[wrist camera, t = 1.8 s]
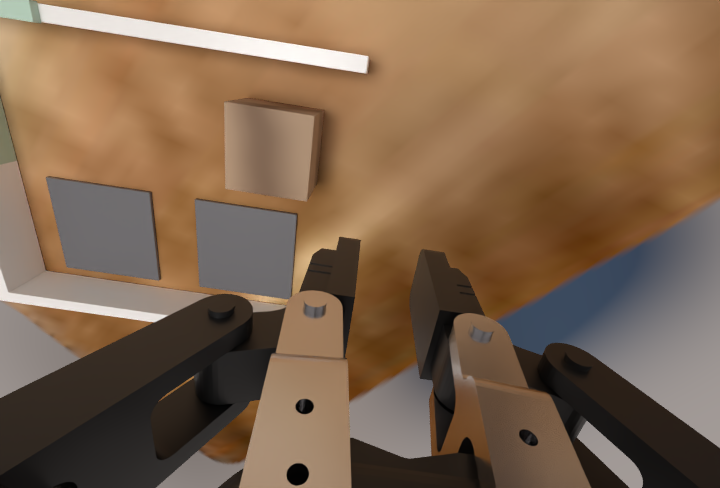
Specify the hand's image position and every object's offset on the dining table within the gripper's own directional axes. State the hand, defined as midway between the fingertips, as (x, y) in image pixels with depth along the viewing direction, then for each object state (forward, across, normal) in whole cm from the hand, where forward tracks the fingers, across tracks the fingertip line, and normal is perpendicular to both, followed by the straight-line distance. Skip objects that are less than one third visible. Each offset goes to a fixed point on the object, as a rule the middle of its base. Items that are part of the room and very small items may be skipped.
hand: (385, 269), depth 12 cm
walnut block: (+19, +8, 0) cm, 21 cm away
